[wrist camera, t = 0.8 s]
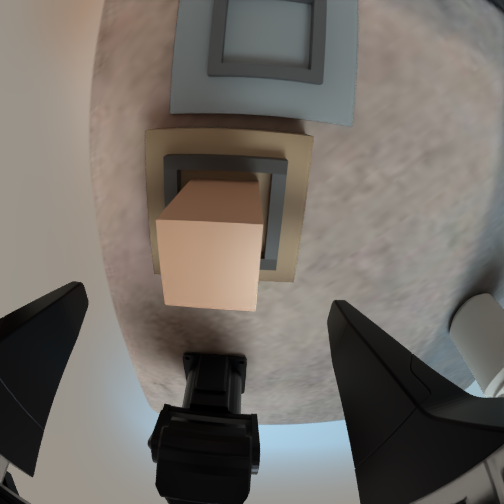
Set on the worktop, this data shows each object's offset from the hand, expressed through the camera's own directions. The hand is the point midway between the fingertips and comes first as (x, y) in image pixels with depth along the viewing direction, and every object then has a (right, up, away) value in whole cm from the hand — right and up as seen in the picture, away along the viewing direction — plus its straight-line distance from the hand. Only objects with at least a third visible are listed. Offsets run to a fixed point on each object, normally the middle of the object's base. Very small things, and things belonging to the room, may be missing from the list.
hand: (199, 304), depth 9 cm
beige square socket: (0, +5, +10) cm, 12 cm away
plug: (0, +4, +8) cm, 9 cm away
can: (+28, -6, +17) cm, 33 cm away
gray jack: (+3, +16, +5) cm, 17 cm away
